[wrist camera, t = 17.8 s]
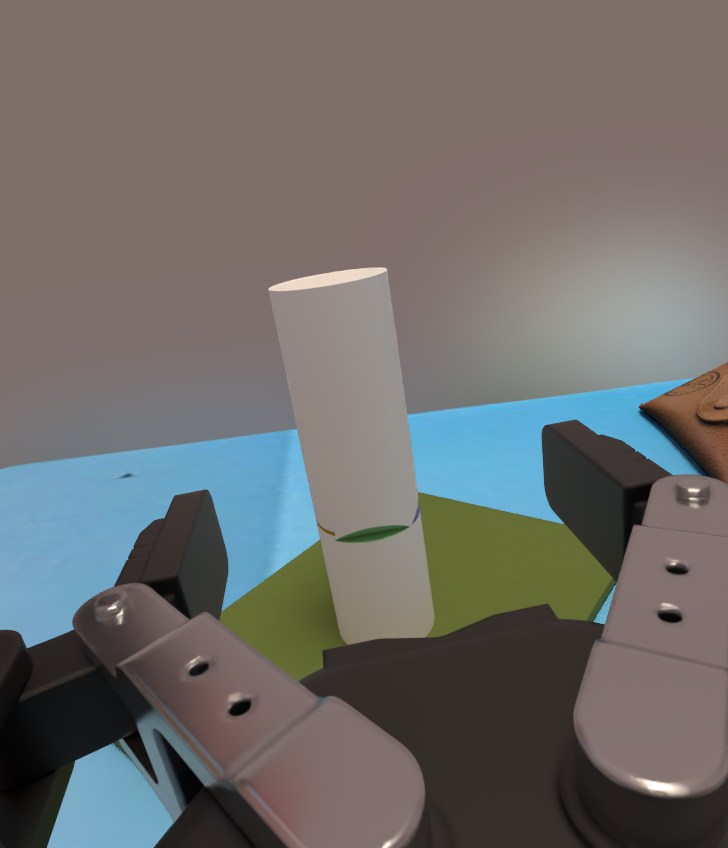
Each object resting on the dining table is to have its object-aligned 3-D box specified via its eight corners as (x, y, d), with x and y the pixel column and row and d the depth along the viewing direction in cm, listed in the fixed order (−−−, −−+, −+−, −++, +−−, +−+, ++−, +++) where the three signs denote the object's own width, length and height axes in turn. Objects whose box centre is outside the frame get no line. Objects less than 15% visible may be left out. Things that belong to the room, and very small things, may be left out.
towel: (393, 494, 39) (392, 486, 38) (635, 550, 29) (635, 539, 29) (90, 721, 24) (85, 710, 24) (375, 983, 14) (371, 968, 14)
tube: (319, 632, 26) (243, 293, 21) (378, 580, 29) (324, 271, 24) (396, 669, 23) (331, 288, 18) (453, 607, 26) (411, 264, 21)
